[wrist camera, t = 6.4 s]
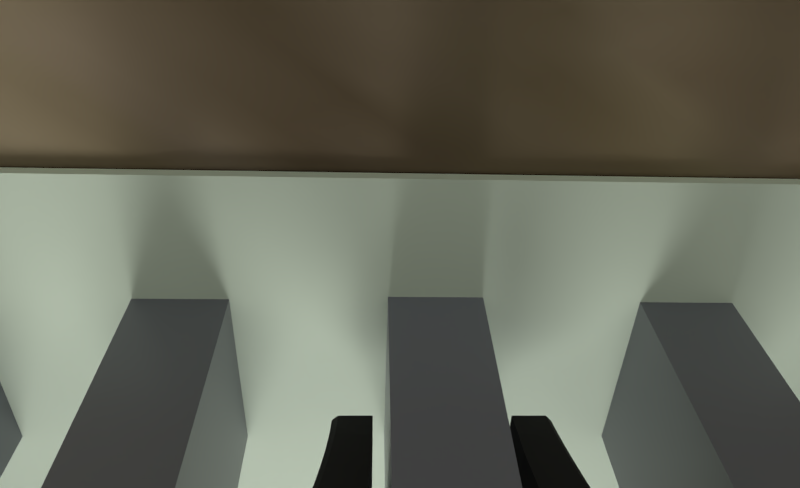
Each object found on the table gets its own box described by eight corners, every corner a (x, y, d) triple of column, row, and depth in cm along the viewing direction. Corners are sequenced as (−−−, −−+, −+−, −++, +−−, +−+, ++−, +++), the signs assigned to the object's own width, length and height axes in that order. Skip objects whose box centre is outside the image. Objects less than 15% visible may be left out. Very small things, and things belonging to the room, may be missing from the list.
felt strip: (753, 499, 17) (757, 506, 17) (-338, 505, 16) (-345, 513, 16) (917, 180, 12) (924, 186, 12) (-657, 157, 11) (-672, 163, 11)
